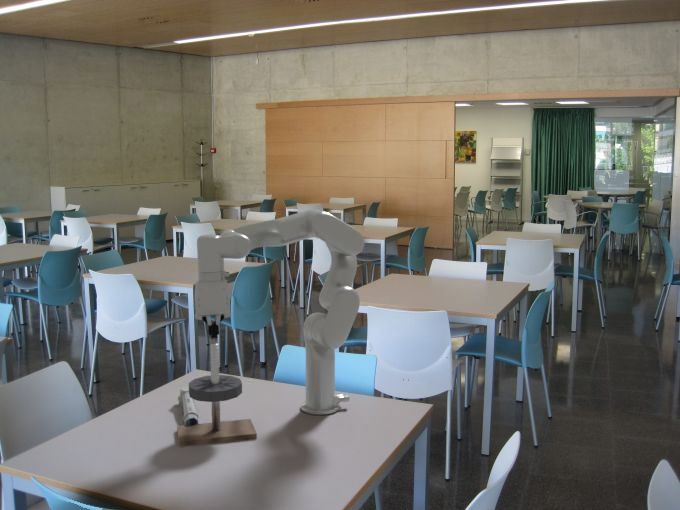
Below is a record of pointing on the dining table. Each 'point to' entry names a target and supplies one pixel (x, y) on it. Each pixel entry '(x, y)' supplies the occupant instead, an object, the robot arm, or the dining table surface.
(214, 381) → the steel pipe
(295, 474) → the dining table surface
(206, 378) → the grey faceted washer
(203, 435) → the pipe stand base
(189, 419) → the white cylindrical tool
